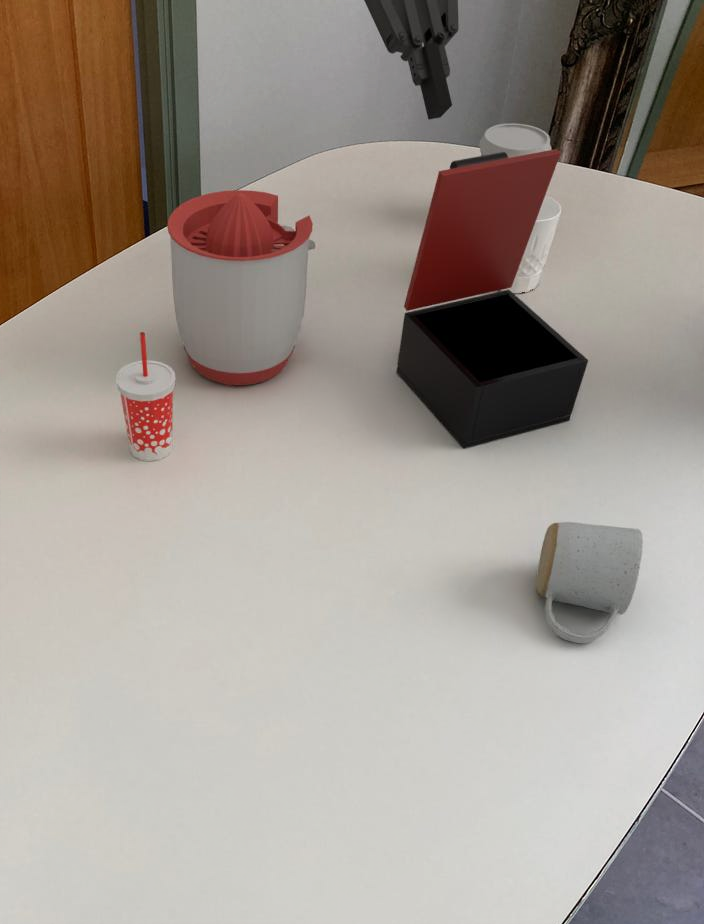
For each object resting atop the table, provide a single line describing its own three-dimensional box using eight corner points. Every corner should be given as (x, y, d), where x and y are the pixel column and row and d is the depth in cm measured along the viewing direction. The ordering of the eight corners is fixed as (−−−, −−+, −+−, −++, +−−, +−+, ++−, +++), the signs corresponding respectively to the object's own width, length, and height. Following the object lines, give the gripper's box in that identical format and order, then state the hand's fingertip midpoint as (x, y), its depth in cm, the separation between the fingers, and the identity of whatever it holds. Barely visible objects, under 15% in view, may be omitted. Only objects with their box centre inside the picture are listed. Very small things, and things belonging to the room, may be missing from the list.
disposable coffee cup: (539, 215, 142) (560, 128, 133) (524, 245, 137) (545, 156, 128) (474, 203, 145) (490, 117, 136) (457, 232, 139) (473, 144, 130)
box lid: (561, 153, 100) (538, 128, 102) (442, 175, 97) (422, 149, 99) (511, 287, 114) (492, 263, 116) (406, 311, 110) (389, 286, 113)
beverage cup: (190, 450, 107) (186, 335, 97) (144, 473, 105) (134, 358, 94) (156, 423, 111) (149, 309, 100) (111, 445, 108) (98, 330, 97)
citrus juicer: (342, 364, 118) (358, 197, 103) (222, 414, 112) (221, 244, 96) (264, 307, 127) (269, 145, 111) (149, 351, 120) (137, 185, 105)
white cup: (531, 302, 127) (550, 226, 119) (473, 286, 130) (487, 211, 122) (550, 274, 131) (569, 200, 124) (493, 260, 134) (509, 186, 127)
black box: (569, 420, 110) (588, 360, 105) (463, 449, 107) (476, 387, 101) (495, 348, 120) (509, 289, 114) (395, 372, 117) (404, 312, 111)
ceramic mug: (534, 558, 96) (553, 498, 90) (621, 573, 95) (647, 513, 89) (527, 639, 89) (547, 580, 83) (621, 656, 88) (648, 597, 82)
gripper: (425, -98, 108) (475, 120, 111) (317, -86, 105) (371, 138, 107) (458, -149, 101) (511, 85, 103) (343, -137, 98) (400, 104, 100)
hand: (440, 112), depth 105 cm, fingers closed
